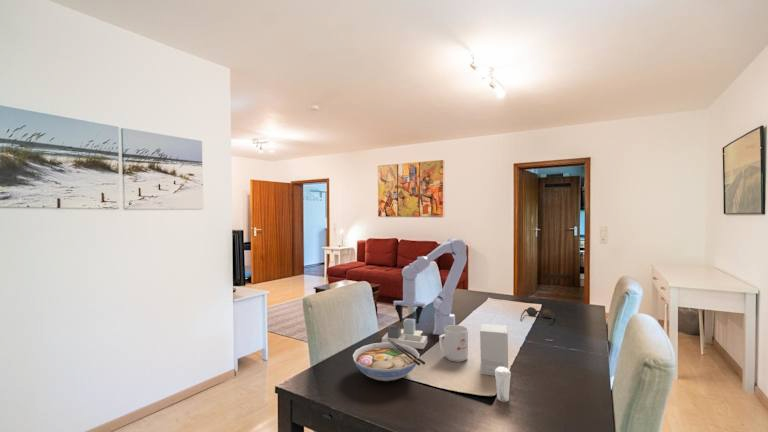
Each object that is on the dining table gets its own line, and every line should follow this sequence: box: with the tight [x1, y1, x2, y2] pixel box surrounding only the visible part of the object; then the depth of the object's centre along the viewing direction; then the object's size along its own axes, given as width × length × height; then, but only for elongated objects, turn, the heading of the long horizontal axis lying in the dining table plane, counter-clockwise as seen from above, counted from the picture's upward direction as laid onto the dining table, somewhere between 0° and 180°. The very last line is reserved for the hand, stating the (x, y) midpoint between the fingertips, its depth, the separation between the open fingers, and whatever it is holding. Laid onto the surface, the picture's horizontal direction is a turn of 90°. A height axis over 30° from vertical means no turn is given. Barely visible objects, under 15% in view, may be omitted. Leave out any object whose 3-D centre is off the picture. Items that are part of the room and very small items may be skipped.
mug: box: [438, 324, 469, 363], centre depth 131 cm, size 12×9×11 cm
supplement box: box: [479, 323, 509, 377], centre depth 120 cm, size 9×9×15 cm
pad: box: [401, 328, 423, 336], centre depth 158 cm, size 10×10×1 cm
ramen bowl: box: [352, 339, 426, 382], centre depth 117 cm, size 25×23×8 cm
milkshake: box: [493, 366, 512, 403], centre depth 102 cm, size 4×5×10 cm
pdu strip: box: [381, 324, 428, 350], centre depth 147 cm, size 18×8×7 cm, turn 72°
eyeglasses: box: [520, 306, 555, 327], centre depth 178 cm, size 15×15×5 cm
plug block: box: [402, 318, 416, 335], centre depth 158 cm, size 4×4×6 cm
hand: (409, 322), depth 158 cm, fingers open, 7 cm apart
